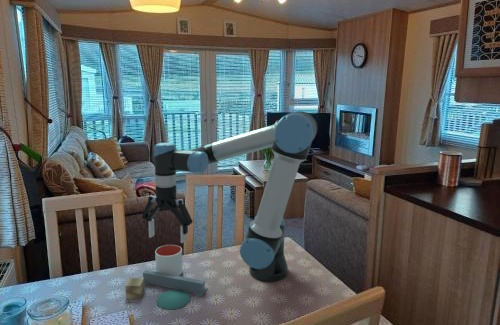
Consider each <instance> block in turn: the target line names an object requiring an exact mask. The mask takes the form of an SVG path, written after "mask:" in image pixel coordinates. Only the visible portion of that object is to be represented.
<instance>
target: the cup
mask: <svg viewBox="0 0 500 325" xmlns="http://www.w3.org/2000/svg"><path fill="white" fill-rule="evenodd" d="M154 254H155V255H154V256H155V272H159V273H164V274H170V275H175V276H181V275H182V273H183V266H184V265H183V248H182V247H181V246H179V245H176V244H165V245H162V246H161V245H160V246H159V247H157V248H156V249H155V251H154Z"/></svg>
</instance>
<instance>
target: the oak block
mask: <svg viewBox="0 0 500 325" xmlns="http://www.w3.org/2000/svg"><path fill="white" fill-rule="evenodd" d="M124 287H125V299H126V300H142V298H143V296H144V294H145V291H146V288H145V287H146V286H145V285H144V278H143V277H130V278H129V279H128V280H127V282H126V284H125V286H124Z"/></svg>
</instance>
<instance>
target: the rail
mask: <svg viewBox="0 0 500 325" xmlns="http://www.w3.org/2000/svg"><path fill="white" fill-rule="evenodd" d="M142 278H144V286H145V287H146V286H148V285H153V286H158V287H165V288H170V289H172V290H183V291H186V292H187V293H189V292H190V293H194V296H196V297H201V298H202V296H203V295H204V294H205V292H206V291H207V290H208V287H206V281H205V280H201V279H196V278H191V277H186V276H181V275H180V276H175V275H170V274H164V273H159V272H156V271H152V270H148V269H145V270H144V271H143V272H142Z"/></svg>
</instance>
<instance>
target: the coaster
mask: <svg viewBox="0 0 500 325" xmlns="http://www.w3.org/2000/svg"><path fill="white" fill-rule="evenodd" d="M190 299H191V296H190V294H189V292H188V291H183V290H178V289H170V290H167V291H165V292H164V291H163V292H162V293H161V294H159V295H158V297H157V299H156V304H157V306H158V307H159V308H161V309H163V310H168V311H169V310H177V309H180V308H181V309H182V307H185V306H186V305H188V304H189V302H190Z"/></svg>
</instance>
